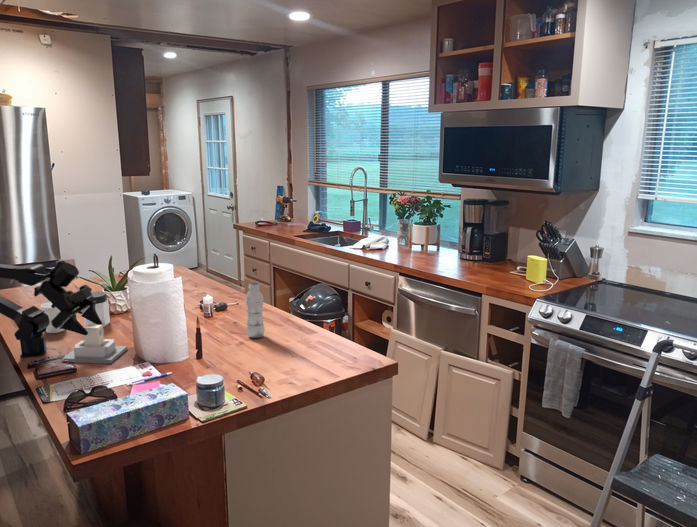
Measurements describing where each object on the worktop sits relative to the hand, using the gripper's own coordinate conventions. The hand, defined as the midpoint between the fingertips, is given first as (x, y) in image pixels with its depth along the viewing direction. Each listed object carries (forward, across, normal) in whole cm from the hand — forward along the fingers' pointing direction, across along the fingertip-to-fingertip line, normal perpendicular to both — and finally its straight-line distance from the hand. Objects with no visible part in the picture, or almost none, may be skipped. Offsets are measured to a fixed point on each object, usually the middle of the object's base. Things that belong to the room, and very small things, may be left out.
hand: (94, 329), depth 181 cm
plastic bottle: (+40, +22, -28) cm, 54 cm away
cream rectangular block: (+5, 0, +6) cm, 8 cm away
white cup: (-13, +22, +26) cm, 36 cm away
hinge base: (+6, 0, +7) cm, 9 cm away
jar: (-4, +30, +17) cm, 35 cm away
